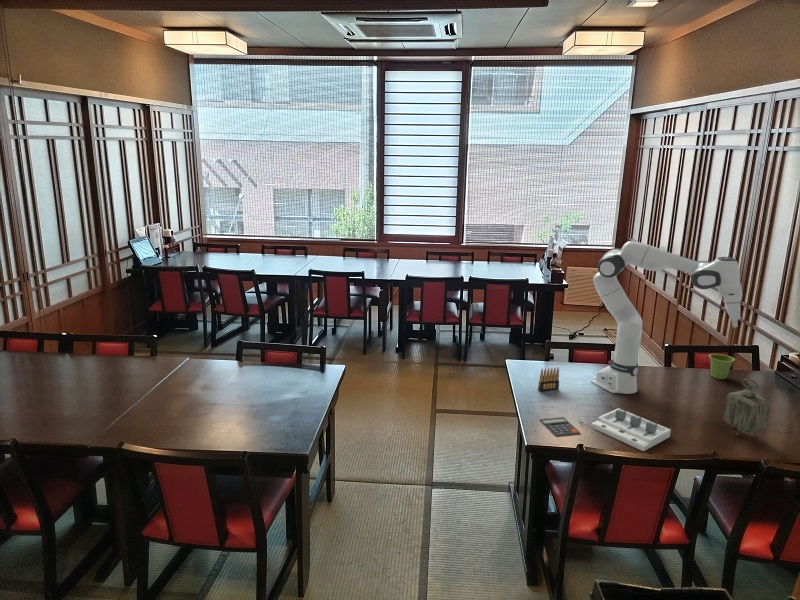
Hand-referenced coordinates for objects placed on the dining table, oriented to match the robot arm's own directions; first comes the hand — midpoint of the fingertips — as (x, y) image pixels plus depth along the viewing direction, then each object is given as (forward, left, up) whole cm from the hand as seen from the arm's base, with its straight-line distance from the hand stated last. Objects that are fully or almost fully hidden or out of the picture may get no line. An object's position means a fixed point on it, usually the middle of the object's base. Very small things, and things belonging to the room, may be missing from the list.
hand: (733, 323), depth 234 cm
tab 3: (-6, -47, -41) cm, 63 cm away
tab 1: (-20, -47, -41) cm, 65 cm away
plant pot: (-20, +45, -43) cm, 66 cm away
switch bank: (-13, -51, -43) cm, 68 cm away
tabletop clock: (+15, -14, -43) cm, 48 cm away
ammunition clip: (-61, -45, -43) cm, 87 cm away
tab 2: (-13, -47, -41) cm, 64 cm away
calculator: (-33, -72, -44) cm, 90 cm away
